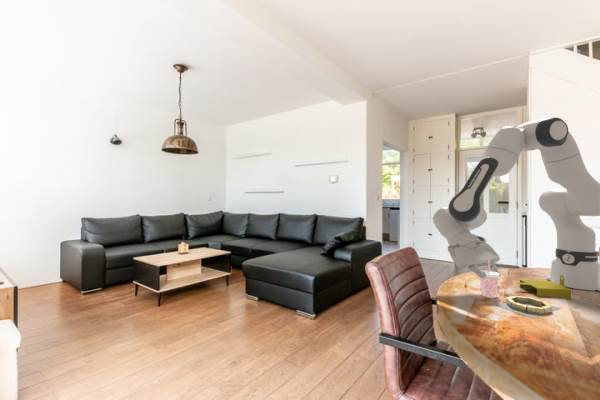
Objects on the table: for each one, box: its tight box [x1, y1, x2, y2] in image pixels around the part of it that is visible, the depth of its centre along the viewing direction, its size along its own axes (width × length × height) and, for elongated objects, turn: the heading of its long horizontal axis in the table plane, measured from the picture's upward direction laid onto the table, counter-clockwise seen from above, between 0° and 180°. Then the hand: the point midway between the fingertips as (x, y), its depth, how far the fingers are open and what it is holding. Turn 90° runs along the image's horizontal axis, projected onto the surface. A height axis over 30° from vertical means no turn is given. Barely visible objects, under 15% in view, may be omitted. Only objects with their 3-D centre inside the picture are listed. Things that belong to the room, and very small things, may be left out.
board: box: [496, 302, 562, 319], centre depth 89 cm, size 16×10×1 cm, turn 115°
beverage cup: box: [479, 258, 501, 299], centre depth 100 cm, size 6×6×14 cm
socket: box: [505, 295, 553, 315], centre depth 89 cm, size 10×10×2 cm
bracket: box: [515, 275, 572, 301], centre depth 104 cm, size 16×8×15 cm
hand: (490, 276), depth 99 cm, fingers closed on beverage cup, 6 cm apart
